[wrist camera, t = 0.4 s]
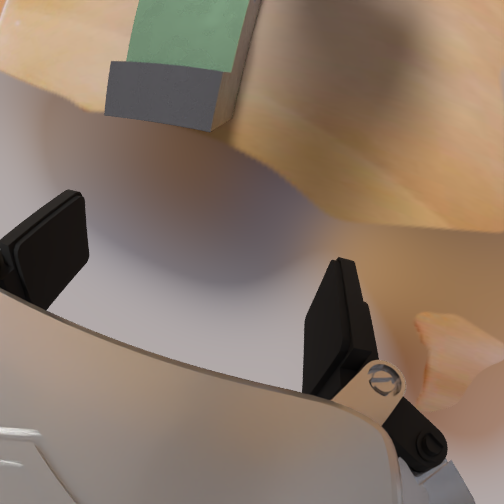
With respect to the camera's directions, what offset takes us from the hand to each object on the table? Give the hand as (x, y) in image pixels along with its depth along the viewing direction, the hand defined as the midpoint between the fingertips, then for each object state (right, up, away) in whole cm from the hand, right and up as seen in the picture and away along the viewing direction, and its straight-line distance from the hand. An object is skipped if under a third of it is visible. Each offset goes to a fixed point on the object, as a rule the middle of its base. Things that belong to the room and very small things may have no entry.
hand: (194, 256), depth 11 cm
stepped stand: (-4, +27, +20) cm, 34 cm away
